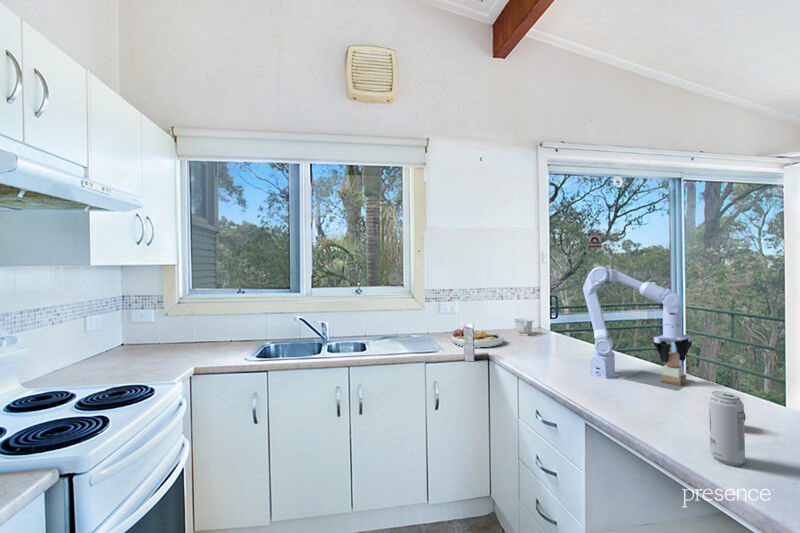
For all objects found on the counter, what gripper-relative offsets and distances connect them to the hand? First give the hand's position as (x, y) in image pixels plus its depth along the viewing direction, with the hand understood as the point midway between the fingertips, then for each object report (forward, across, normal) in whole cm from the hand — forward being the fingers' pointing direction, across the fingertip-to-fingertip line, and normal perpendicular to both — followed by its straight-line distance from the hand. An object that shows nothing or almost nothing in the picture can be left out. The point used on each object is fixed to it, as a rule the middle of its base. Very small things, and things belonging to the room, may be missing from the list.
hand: (673, 361), depth 138 cm
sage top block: (+5, 0, 0) cm, 5 cm away
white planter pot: (+9, 0, +103) cm, 103 cm away
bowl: (+9, -38, +90) cm, 98 cm away
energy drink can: (+9, -37, -46) cm, 60 cm away
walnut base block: (+8, 0, 0) cm, 8 cm away
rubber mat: (+9, -2, +5) cm, 10 cm away
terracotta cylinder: (+2, 0, 0) cm, 2 cm away
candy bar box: (+9, -56, +58) cm, 81 cm away
